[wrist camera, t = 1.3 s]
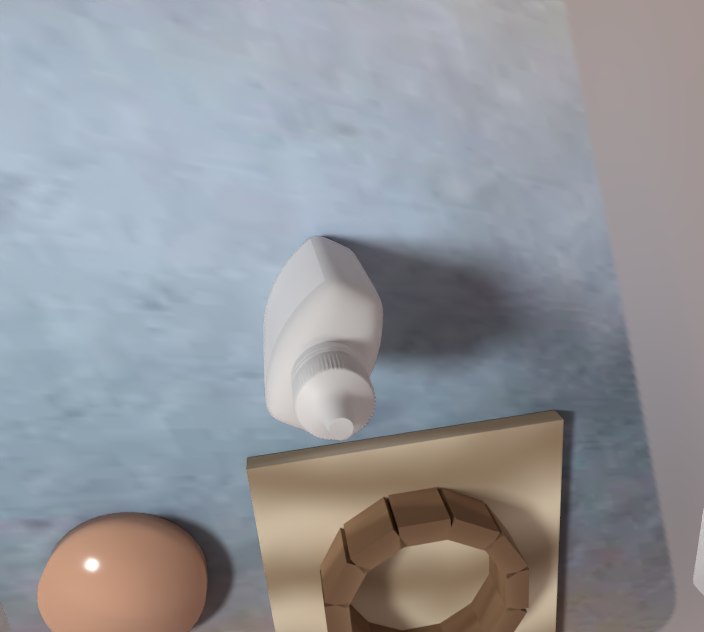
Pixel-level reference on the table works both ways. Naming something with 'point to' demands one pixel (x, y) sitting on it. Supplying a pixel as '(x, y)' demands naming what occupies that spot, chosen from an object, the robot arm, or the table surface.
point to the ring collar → (415, 530)
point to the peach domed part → (124, 577)
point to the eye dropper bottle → (322, 341)
